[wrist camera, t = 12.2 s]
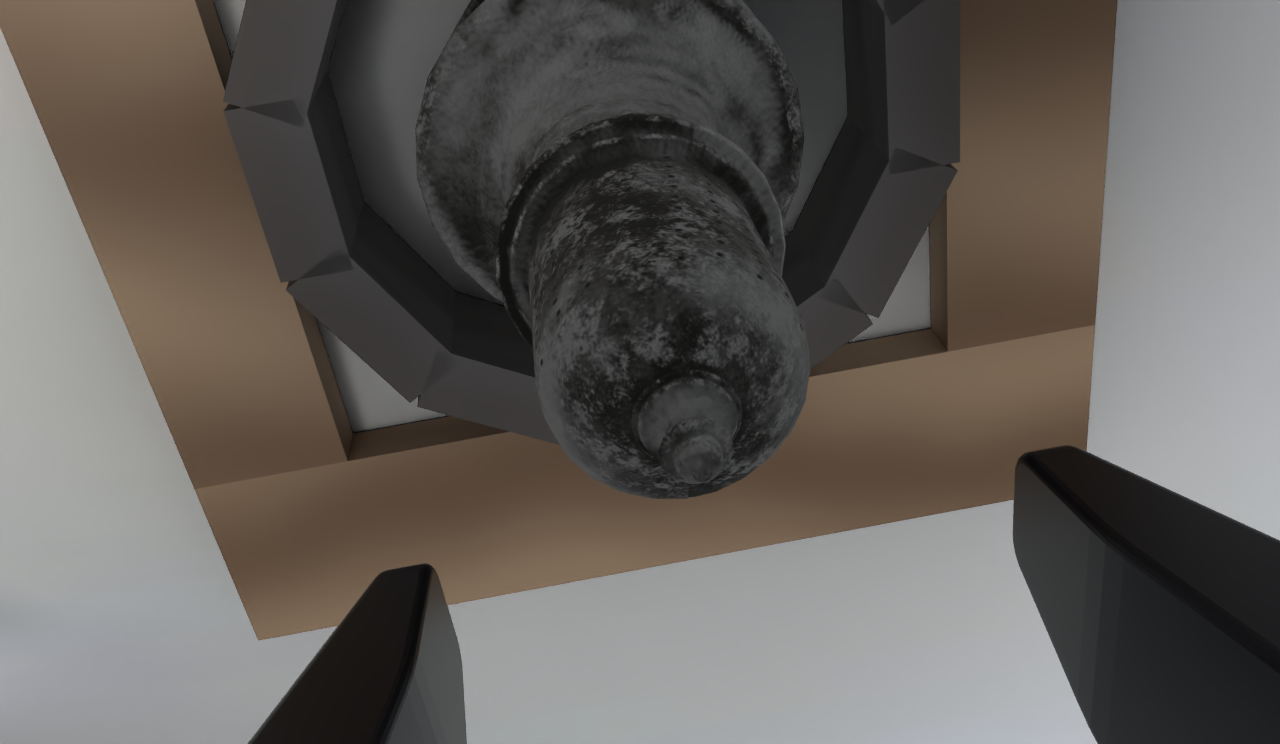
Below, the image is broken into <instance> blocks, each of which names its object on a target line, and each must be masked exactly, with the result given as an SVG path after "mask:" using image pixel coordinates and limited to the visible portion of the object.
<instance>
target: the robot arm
mask: <svg viewBox="0 0 1280 744" xmlns="http://www.w3.org/2000/svg"><path fill="white" fill-rule="evenodd" d="M1013 543H1014V549H1015V554H1016V557H1017V561H1018V564H1019V566H1020V569H1021V571H1022V573H1023V576H1024V578H1025V580H1026V583H1027V585H1028V587H1029V590H1030V592H1031V594H1032V597H1033V599H1034V601H1035V604H1036V606H1037V608H1038V611H1039V613H1040V615H1041V618H1042V620H1043V622H1044V625H1045V627H1046V630H1047V632H1048V634H1049V637H1050V639H1051V641H1052V644H1053V646H1054V648H1055V651H1056V653H1057V655H1058V658H1059V660H1060V662H1061V665H1062V667H1063V669H1064V672H1065V674H1066V676H1067V679H1068V681H1069V683H1070V686H1071V688H1072V690H1073V693H1074V695H1075V697H1076V700H1077V702H1078V704H1079V706H1080V708H1081V711H1082V713H1083V715H1084V717H1085V719H1086V722H1087V724H1088V726H1089V728H1090V730H1091V732H1092V734H1093V736H1094V738H1095V740H1096V741H1097V743H1098V744H1280V541H1279V540H1277V539H1275V538H1273V537H1271V536H1269V535H1266V534H1264V533H1262V532H1260V531H1258V530H1256V529H1253V528H1251V527H1249V526H1247V525H1245V524H1243V523H1240V522H1238V521H1236V520H1234V519H1232V518H1229V517H1227V516H1225V515H1223V514H1221V513H1219V512H1216V511H1214V510H1212V509H1210V508H1208V507H1206V506H1203V505H1201V504H1199V503H1197V502H1195V501H1193V500H1190V499H1188V498H1186V497H1184V496H1182V495H1180V494H1177V493H1175V492H1173V491H1171V490H1169V489H1167V488H1164V487H1162V486H1160V485H1158V484H1156V483H1154V482H1151V481H1149V480H1147V479H1145V478H1143V477H1141V476H1138V475H1136V474H1134V473H1132V472H1130V471H1128V470H1125V469H1123V468H1121V467H1119V466H1117V465H1114V464H1112V463H1110V462H1108V461H1106V460H1104V459H1101V458H1099V457H1097V456H1095V455H1093V454H1091V453H1088V452H1086V451H1084V450H1082V449H1080V448H1077V447H1074V446H1070V445H1063V446H1057V447H1052V448H1046V449H1041V450H1036V451H1030V452H1026V453H1024V454H1023V455H1022V456H1021V457H1020V458H1019V459H1018V461H1017V464H1016V467H1015V482H1014V513H1013ZM248 744H467V739H466V722H465V705H464V688H463V671H462V661H461V654H460V649H459V644H458V640H457V636H456V633H455V629H454V626H453V623H452V619H451V616H450V613H449V609H448V606H447V603H446V599H445V596H444V593H443V590H442V586H441V583H440V580H439V577H438V574H437V572H436V570H435V569H434V568H433V567H432V566H431V565H429V564H427V563H423V564H417V565H412V566H406V567H401V568H395V569H390V570H386V571H383V572H381V573H380V574H378V575H377V576H376V577H375V578H374V580H373V581H372V582H371V584H370V585H369V586H368V588H367V589H366V590H365V591H364V593H363V594H362V595H361V597H360V598H359V599H358V601H357V602H356V603H355V604H354V606H353V607H352V608H351V610H350V611H349V612H348V614H347V615H346V616H345V618H344V619H343V620H342V621H341V623H340V624H339V625H338V627H337V628H336V629H335V631H334V632H333V633H332V634H331V636H330V637H329V638H328V640H327V641H326V642H325V644H324V645H323V646H322V648H321V649H320V650H319V651H318V653H317V654H316V655H315V657H314V658H313V659H312V661H311V662H310V663H309V664H308V666H307V667H306V668H305V670H304V671H303V672H302V674H301V675H300V676H299V677H298V679H297V680H296V681H295V683H294V684H293V685H292V687H291V688H290V689H289V691H288V692H287V693H286V694H285V696H284V697H283V698H282V700H281V701H280V702H279V704H278V705H277V706H276V707H275V709H274V710H273V711H272V713H271V714H270V715H269V717H268V718H267V719H266V720H265V722H264V723H263V724H262V726H261V727H260V728H259V730H258V731H257V732H256V734H255V735H254V736H253V737H252V739H251V740H250V741H249V743H248Z"/></svg>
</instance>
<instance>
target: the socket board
mask: <svg viewBox="0 0 1280 744" xmlns="http://www.w3.org/2000/svg"><path fill="white" fill-rule="evenodd" d="M345 3H346V0H246V4H245V8H244V12H243V16H242V21H241V25H240V29H239V34H238V38H237V42H236V47H235V51H234V55H233V59H231V56H230V52H229V49H228V46H227V43H226V40H225V37H224V34H223V31H222V28H221V25H220V22H219V18H218V15H217V12H216V9H215V6H214V3H213V0H0V28H1V30H2V32H3V35H4V37H5V39H6V42H7V44H8V47H9V49H10V51H11V54H12V56H13V58H14V61H15V63H16V66H17V68H18V70H19V73H20V75H21V78H22V80H23V82H24V85H25V87H26V89H27V92H28V94H29V97H30V99H31V101H32V104H33V106H34V108H35V111H36V113H37V116H38V118H39V120H40V123H41V125H42V127H43V130H44V132H45V135H46V137H47V139H48V142H49V144H50V146H51V149H52V151H53V154H54V156H55V158H56V161H57V163H58V166H59V168H60V170H61V173H62V175H63V177H64V180H65V182H66V185H67V187H68V189H69V192H70V194H71V196H72V199H73V201H74V204H75V206H76V208H77V211H78V213H79V215H80V218H81V220H82V223H83V225H84V227H85V230H86V232H87V234H88V237H89V239H90V242H91V244H92V246H93V249H94V251H95V254H96V256H97V258H98V261H99V263H100V265H101V268H102V270H103V273H104V275H105V277H106V280H107V282H108V284H109V287H110V289H111V292H112V294H113V296H114V299H115V301H116V303H117V306H118V308H119V311H120V313H121V315H122V318H123V320H124V322H125V325H126V327H127V330H128V332H129V334H130V337H131V339H132V341H133V344H134V346H135V349H136V351H137V353H138V356H139V358H140V361H141V363H142V365H143V368H144V370H145V372H146V375H147V377H148V380H149V382H150V384H151V387H152V389H153V391H154V394H155V396H156V399H157V401H158V403H159V406H160V408H161V410H162V413H163V415H164V418H165V420H166V422H167V425H168V427H169V429H170V432H171V434H172V437H173V439H174V441H175V444H176V446H177V449H178V451H179V453H180V456H181V458H182V460H183V463H184V465H185V468H186V470H187V472H188V475H189V477H190V479H191V482H192V484H193V487H194V489H195V491H196V494H197V496H198V498H199V501H200V503H201V506H202V508H203V510H204V513H205V515H206V517H207V520H208V522H209V525H210V527H211V529H212V532H213V534H214V537H215V539H216V541H217V544H218V546H219V548H220V551H221V553H222V556H223V558H224V560H225V563H226V565H227V567H228V570H229V572H230V575H231V577H232V579H233V582H234V584H235V586H236V589H237V591H238V594H239V596H240V598H241V601H242V603H243V605H244V608H245V610H246V613H247V615H248V617H249V620H250V622H251V624H252V627H253V629H254V632H255V634H256V636H257V639H258V640H263V639H269V638H274V637H279V636H285V635H290V634H295V633H301V632H306V631H312V630H317V629H322V628H328V627H333V626H338V625H339V624H340V623H341V621H342V620H343V619H344V618H345V616H346V615H347V614H348V612H349V611H350V610H351V608H352V607H353V606H354V604H355V603H356V602H357V601H358V599H359V598H360V597H361V595H362V594H363V593H364V591H365V590H366V589H367V588H368V586H369V585H370V584H371V582H372V581H373V580H374V578H375V577H376V576H377V575H378V574H380V573H381V572H383V571H386V570H390V569H395V568H401V567H406V566H412V565H417V564H423V563H427V564H429V565H431V566H432V567H433V568H434V569H435V570H436V572H437V574H438V577H439V580H440V583H441V586H442V590H443V593H444V596H445V599H446V603H447V605H451V604H456V603H462V602H467V601H472V600H478V599H483V598H488V597H494V596H499V595H505V594H510V593H515V592H521V591H526V590H531V589H537V588H542V587H547V586H553V585H558V584H564V583H569V582H574V581H580V580H585V579H590V578H596V577H601V576H606V575H612V574H617V573H623V572H628V571H633V570H639V569H644V568H649V567H655V566H660V565H665V564H671V563H676V562H681V561H687V560H692V559H698V558H703V557H708V556H714V555H719V554H724V553H730V552H735V551H740V550H746V549H751V548H757V547H762V546H767V545H773V544H778V543H783V542H789V541H794V540H799V539H805V538H810V537H815V536H821V535H826V534H832V533H837V532H842V531H848V530H853V529H858V528H864V527H869V526H874V525H880V524H885V523H891V522H896V521H901V520H907V519H912V518H917V517H923V516H928V515H933V514H939V513H944V512H950V511H955V510H960V509H966V508H971V507H976V506H982V505H987V504H992V503H998V502H1003V501H1008V500H1014V482H1015V467H1016V464H1017V461H1018V459H1019V458H1020V457H1021V456H1022V455H1023V454H1024V453H1026V452H1030V451H1036V450H1041V449H1046V448H1052V447H1057V446H1063V445H1070V446H1074V447H1077V448H1080V449H1082V450H1084V451H1086V449H1087V435H1088V420H1089V406H1090V391H1091V376H1092V362H1093V347H1094V333H1095V318H1096V304H1097V289H1098V275H1099V260H1100V245H1101V231H1102V216H1103V202H1104V187H1105V173H1106V158H1107V143H1108V129H1109V114H1110V100H1111V85H1112V71H1113V56H1114V42H1115V27H1116V12H1117V0H842V5H843V24H844V44H845V64H846V84H847V104H848V117H847V119H846V121H845V124H844V126H843V128H842V130H841V132H840V134H839V136H838V138H837V140H836V142H835V144H834V146H833V148H832V150H831V152H830V154H829V157H828V159H827V161H826V163H825V165H824V167H823V169H822V171H821V173H820V175H819V177H818V179H817V181H816V183H815V185H814V188H813V190H812V192H811V194H810V196H809V198H808V200H807V202H806V204H805V206H804V208H803V210H802V212H801V214H800V216H799V219H798V221H797V223H796V225H795V227H794V229H793V231H792V232H791V233H789V234H788V235H787V236H785V243H786V248H785V256H784V264H783V272H782V278H783V280H784V282H785V284H786V286H787V288H788V290H789V292H790V293H791V296H792V298H793V300H794V302H795V304H796V306H797V308H798V310H799V313H800V315H801V317H802V319H803V321H804V323H805V329H806V336H807V343H808V350H809V361H810V374H809V380H808V387H807V394H806V401H805V403H804V405H803V408H802V410H801V412H800V414H799V417H798V419H797V421H796V424H795V426H794V428H793V430H792V432H791V433H790V434H789V435H788V437H787V438H786V439H785V440H784V442H783V443H782V444H781V446H780V447H779V448H778V449H777V451H776V452H775V453H774V454H773V456H771V457H770V458H769V459H768V460H766V461H765V462H764V463H763V464H761V465H760V466H759V467H758V468H756V469H755V470H754V471H753V472H751V473H750V474H749V475H748V476H746V477H745V478H743V479H741V480H739V481H737V482H735V483H733V484H731V485H729V486H727V487H725V488H723V489H721V490H719V491H717V492H713V493H709V494H705V495H701V496H696V497H692V498H688V499H651V498H646V497H641V496H637V495H632V494H628V493H623V492H619V491H617V490H615V489H613V488H611V487H609V486H607V485H605V484H603V483H601V482H599V481H597V480H595V479H593V478H591V477H590V476H589V475H588V474H587V473H586V472H584V471H583V470H582V469H581V468H580V467H579V466H578V465H576V464H575V463H574V462H573V461H572V460H571V459H569V458H568V456H567V454H566V453H565V451H564V450H563V448H562V447H561V445H560V444H559V442H558V441H557V439H556V438H555V436H554V434H553V433H552V431H551V429H550V428H549V426H548V424H547V422H546V420H545V418H544V415H543V411H542V408H541V404H540V401H539V397H538V394H537V390H536V385H535V370H534V355H533V348H531V347H530V346H529V345H528V344H527V343H526V342H525V341H524V339H523V338H522V336H521V334H520V333H519V331H518V330H517V328H516V327H515V325H514V323H513V322H512V320H511V319H510V317H509V315H508V314H507V312H506V309H505V306H501V305H498V304H495V303H491V302H488V301H485V300H481V299H478V298H475V297H471V296H468V295H465V294H462V293H458V292H455V291H454V290H453V289H452V288H451V287H450V286H449V285H448V284H447V283H446V282H445V281H444V280H443V279H442V278H441V277H440V276H439V275H438V274H437V273H436V272H435V271H434V270H433V269H432V268H431V267H430V266H429V265H428V264H427V263H426V262H425V261H424V260H423V259H422V258H421V257H420V256H419V255H418V254H417V253H416V252H415V251H414V250H413V249H412V248H411V247H410V246H409V245H408V244H407V243H406V242H405V241H404V240H403V239H402V238H401V237H400V236H399V235H398V234H397V233H396V232H395V231H394V230H393V229H392V228H391V227H390V226H389V225H388V224H387V223H386V222H385V221H384V220H383V219H382V218H380V217H379V216H378V215H377V214H376V213H375V212H374V211H373V210H372V209H371V208H370V207H369V206H368V205H367V204H366V203H365V202H364V199H363V196H362V192H361V188H360V185H359V181H358V178H357V174H356V171H355V167H354V164H353V160H352V157H351V153H350V149H349V146H348V142H347V139H346V135H345V132H344V128H343V125H342V121H341V118H340V114H339V111H338V107H337V103H336V100H335V96H334V93H333V89H332V86H331V82H330V79H329V75H328V72H327V69H328V66H329V62H330V58H331V54H332V51H333V47H334V43H335V40H336V36H337V32H338V29H339V25H340V21H341V17H342V14H343V10H344V6H345ZM928 225H929V231H930V302H931V329H926V330H921V331H915V332H910V333H904V334H899V335H893V336H888V337H882V338H877V339H871V340H866V341H860V342H855V343H849V344H846V343H847V342H848V341H850V340H851V339H853V338H854V337H855V336H857V335H858V334H860V333H861V332H862V331H864V330H865V329H867V328H868V327H869V326H871V325H872V322H871V320H870V319H869V317H868V316H867V314H868V315H871V316H874V317H877V318H879V316H880V314H881V312H882V310H883V308H884V307H885V305H886V303H887V301H888V299H889V297H890V295H891V294H892V292H893V290H894V288H895V286H896V284H897V282H898V281H899V279H900V277H901V275H902V273H903V271H904V270H905V268H906V266H907V264H908V262H909V260H910V258H911V257H912V255H913V253H914V251H915V249H916V247H917V245H918V244H919V242H920V240H921V238H922V236H923V234H924V232H925V231H926V229H927V227H928ZM315 317H316V318H317V319H318V320H319V321H320V322H321V323H322V324H324V325H325V326H326V327H327V328H328V329H329V330H330V331H331V332H332V333H333V334H335V335H336V336H337V337H338V338H339V339H340V340H341V341H342V342H343V343H345V344H346V345H347V346H348V347H349V348H350V349H351V350H352V351H353V352H354V353H356V354H357V355H358V356H359V357H360V358H361V359H362V360H363V361H364V362H366V363H367V364H368V365H369V366H370V367H371V368H372V369H373V370H374V371H375V372H377V373H378V374H379V375H380V376H381V377H382V378H383V379H384V380H385V381H387V382H388V383H389V384H390V385H391V386H392V387H393V388H394V389H395V390H396V391H398V392H399V393H400V394H401V395H402V396H403V397H404V398H405V399H406V400H407V401H409V402H412V401H413V400H414V399H415V398H417V397H418V406H417V407H420V408H424V409H428V410H431V411H435V412H439V413H442V414H446V415H450V416H448V417H442V418H437V419H431V420H426V421H420V422H415V423H409V424H404V425H398V426H393V427H387V428H382V429H376V430H371V431H365V432H360V433H354V434H353V433H352V430H351V426H350V423H349V420H348V417H347V414H346V411H345V408H344V405H343V402H342V399H341V396H340V392H339V389H338V386H337V383H336V380H335V377H334V374H333V371H332V368H331V365H330V362H329V358H328V355H327V352H326V349H325V346H324V343H323V340H322V337H321V334H320V331H319V328H318V324H317V321H316V318H315Z"/></svg>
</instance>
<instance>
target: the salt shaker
mask: <svg viewBox="0 0 1280 744" xmlns="http://www.w3.org/2000/svg"><path fill="white" fill-rule="evenodd" d="M803 143H804V132H803V125H802V118H801V110H800V103H799V95H798V89H797V86H796V84H795V82H794V79H793V77H792V75H791V73H790V70H789V68H788V66H787V63H786V61H785V59H784V56H783V54H782V52H781V49H780V47H779V45H778V43H777V42H776V40H775V39H774V38H773V37H772V35H771V34H770V33H769V32H768V31H767V29H766V28H765V27H764V26H763V25H762V23H761V22H760V21H759V20H758V18H757V17H756V16H755V15H754V14H753V12H752V11H751V10H750V9H749V7H748V6H747V5H746V4H745V3H744V2H743V1H742V0H471V2H470V3H469V5H468V7H467V9H466V10H465V12H464V14H463V16H462V17H461V19H460V21H459V23H458V24H457V26H456V28H455V30H454V32H453V34H452V35H451V37H450V39H449V41H448V42H447V44H446V46H445V48H444V49H443V51H442V53H441V55H440V56H439V58H438V60H437V62H436V64H435V65H434V67H433V69H432V71H431V72H430V74H429V76H428V79H427V83H426V87H425V91H424V95H423V100H422V104H421V108H420V112H419V116H418V120H417V124H416V156H417V179H418V182H419V186H420V189H421V192H422V195H423V198H424V201H425V204H426V207H427V211H428V214H429V217H430V220H431V223H432V226H433V227H434V229H435V230H436V232H437V233H438V235H439V237H440V238H441V240H442V241H443V243H444V244H445V246H446V247H447V249H448V250H449V252H450V253H451V255H452V256H453V258H454V260H455V261H456V263H457V264H458V266H459V267H461V268H462V269H463V270H464V271H465V272H466V273H467V274H468V275H469V276H471V277H472V278H473V279H474V280H475V281H476V282H477V283H478V284H479V285H481V286H482V287H483V288H484V289H485V290H486V291H487V292H488V293H489V294H491V295H492V296H493V297H494V298H496V299H498V300H500V301H502V302H504V306H505V309H506V312H507V314H508V315H509V317H510V319H511V320H512V322H513V323H514V325H515V327H516V328H517V330H518V331H519V333H520V334H521V336H522V338H523V339H524V341H525V342H526V343H527V344H528V345H529V346H530V347H531V348H533V355H534V370H535V385H536V390H537V394H538V397H539V401H540V404H541V408H542V411H543V415H544V418H545V420H546V422H547V424H548V426H549V428H550V429H551V431H552V433H553V434H554V436H555V438H556V439H557V441H558V442H559V444H560V445H561V447H562V448H563V450H564V451H565V453H566V454H567V456H568V458H569V459H571V460H572V461H573V462H574V463H575V464H576V465H578V466H579V467H580V468H581V469H582V470H583V471H584V472H586V473H587V474H588V475H589V476H590V477H591V478H593V479H595V480H597V481H599V482H601V483H603V484H605V485H607V486H609V487H611V488H613V489H615V490H617V491H619V492H623V493H628V494H632V495H637V496H641V497H646V498H651V499H688V498H692V497H696V496H701V495H705V494H709V493H713V492H717V491H719V490H721V489H723V488H725V487H727V486H729V485H731V484H733V483H735V482H737V481H739V480H741V479H743V478H745V477H746V476H748V475H749V474H750V473H751V472H753V471H754V470H755V469H756V468H758V467H759V466H760V465H761V464H763V463H764V462H765V461H766V460H768V459H769V458H770V457H771V456H773V454H774V453H775V452H776V451H777V449H778V448H779V447H780V446H781V444H782V443H783V442H784V440H785V439H786V438H787V437H788V435H789V434H790V433H791V432H792V430H793V428H794V426H795V424H796V421H797V419H798V417H799V414H800V412H801V410H802V408H803V405H804V403H805V401H806V394H807V387H808V380H809V374H810V361H809V350H808V343H807V336H806V329H805V323H804V321H803V319H802V317H801V315H800V313H799V310H798V308H797V306H796V304H795V302H794V300H793V298H792V296H791V293H790V292H789V290H788V288H787V286H786V284H785V282H784V280H783V278H782V272H783V264H784V256H785V248H786V243H785V236H784V229H783V221H784V218H785V216H786V213H787V211H788V209H789V206H790V204H791V201H792V199H793V196H794V194H795V191H796V189H797V187H798V181H799V173H800V166H801V158H802V151H803Z"/></svg>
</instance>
